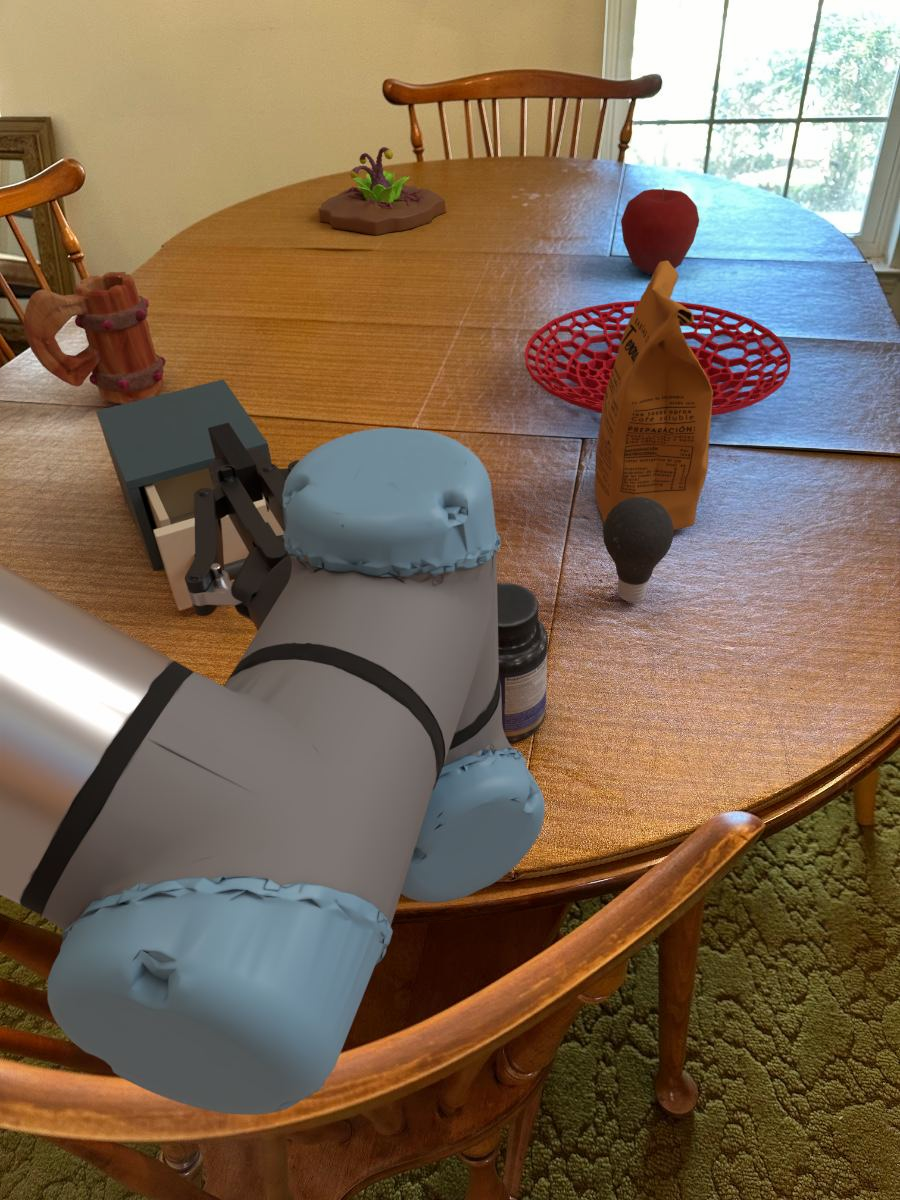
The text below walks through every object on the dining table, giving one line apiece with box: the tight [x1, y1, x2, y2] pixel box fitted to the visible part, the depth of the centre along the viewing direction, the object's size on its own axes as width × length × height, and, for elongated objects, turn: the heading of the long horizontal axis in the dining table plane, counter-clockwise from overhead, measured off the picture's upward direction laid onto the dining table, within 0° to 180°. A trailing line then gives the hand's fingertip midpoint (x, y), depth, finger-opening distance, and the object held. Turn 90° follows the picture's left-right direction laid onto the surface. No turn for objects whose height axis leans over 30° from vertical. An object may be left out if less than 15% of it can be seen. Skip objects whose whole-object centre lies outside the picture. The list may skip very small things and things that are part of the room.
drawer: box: [141, 468, 284, 612], centre depth 83 cm, size 18×12×8 cm, turn 26°
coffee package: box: [594, 261, 713, 531], centre depth 84 cm, size 10×12×22 cm
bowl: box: [524, 300, 792, 417], centre depth 107 cm, size 29×29×5 cm
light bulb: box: [602, 497, 675, 604], centre depth 77 cm, size 6×6×10 cm
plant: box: [318, 146, 447, 236], centre depth 160 cm, size 20×20×11 cm
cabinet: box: [95, 379, 273, 571], centre depth 91 cm, size 15×13×10 cm
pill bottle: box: [497, 582, 549, 743], centre depth 67 cm, size 6×6×11 cm
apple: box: [620, 187, 700, 275], centre depth 133 cm, size 11×11×12 cm
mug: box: [23, 271, 167, 405], centre depth 108 cm, size 15×8×15 cm, turn 130°
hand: (222, 442), depth 66 cm, fingers closed
